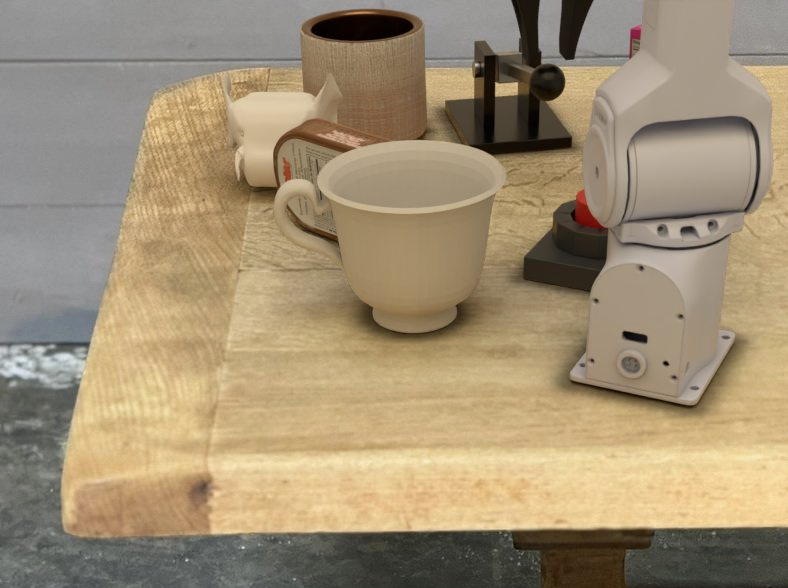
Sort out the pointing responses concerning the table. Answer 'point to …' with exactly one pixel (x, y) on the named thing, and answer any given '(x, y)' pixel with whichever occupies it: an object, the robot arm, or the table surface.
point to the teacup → (404, 225)
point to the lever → (530, 75)
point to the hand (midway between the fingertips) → (548, 57)
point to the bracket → (504, 113)
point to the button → (585, 212)
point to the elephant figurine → (271, 124)
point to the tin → (315, 164)
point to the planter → (370, 69)
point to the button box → (568, 252)
